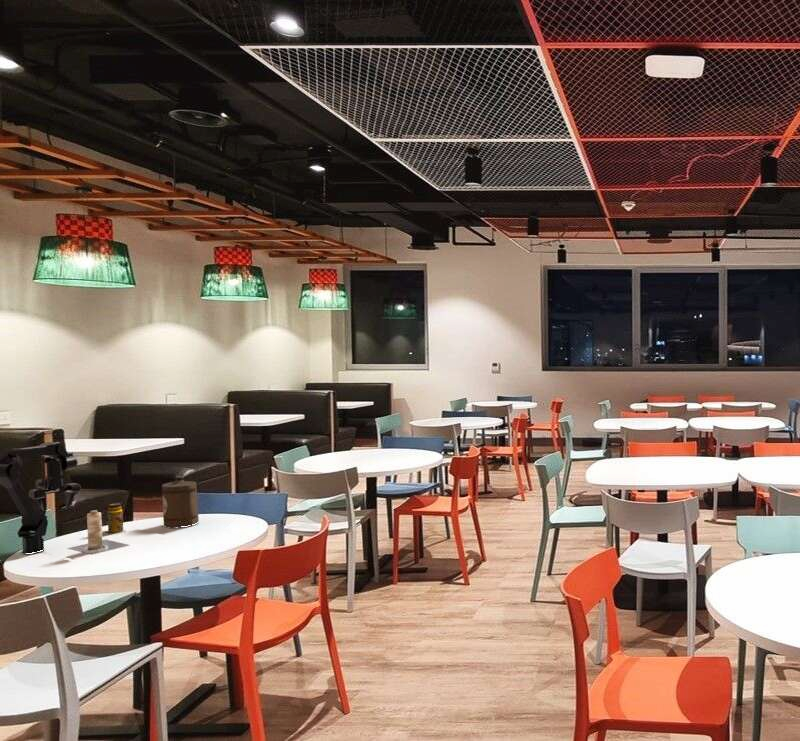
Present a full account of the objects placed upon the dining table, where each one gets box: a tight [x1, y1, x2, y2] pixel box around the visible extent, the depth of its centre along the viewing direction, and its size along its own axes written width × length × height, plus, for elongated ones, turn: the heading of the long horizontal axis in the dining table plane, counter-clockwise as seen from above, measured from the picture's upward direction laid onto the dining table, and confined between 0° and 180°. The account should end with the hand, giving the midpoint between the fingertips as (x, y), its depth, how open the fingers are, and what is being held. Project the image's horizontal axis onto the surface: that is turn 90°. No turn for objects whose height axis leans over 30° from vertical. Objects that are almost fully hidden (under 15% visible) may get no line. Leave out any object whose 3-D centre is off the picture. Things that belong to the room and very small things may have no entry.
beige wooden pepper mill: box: [86, 509, 103, 550], centre depth 280 cm, size 5×5×15 cm
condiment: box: [102, 502, 127, 536], centre depth 315 cm, size 7×8×12 cm
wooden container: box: [161, 474, 199, 528], centre depth 325 cm, size 15×15×22 cm
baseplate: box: [67, 538, 130, 555], centre depth 286 cm, size 16×18×2 cm
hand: (56, 511), depth 297 cm, fingers open, 9 cm apart
